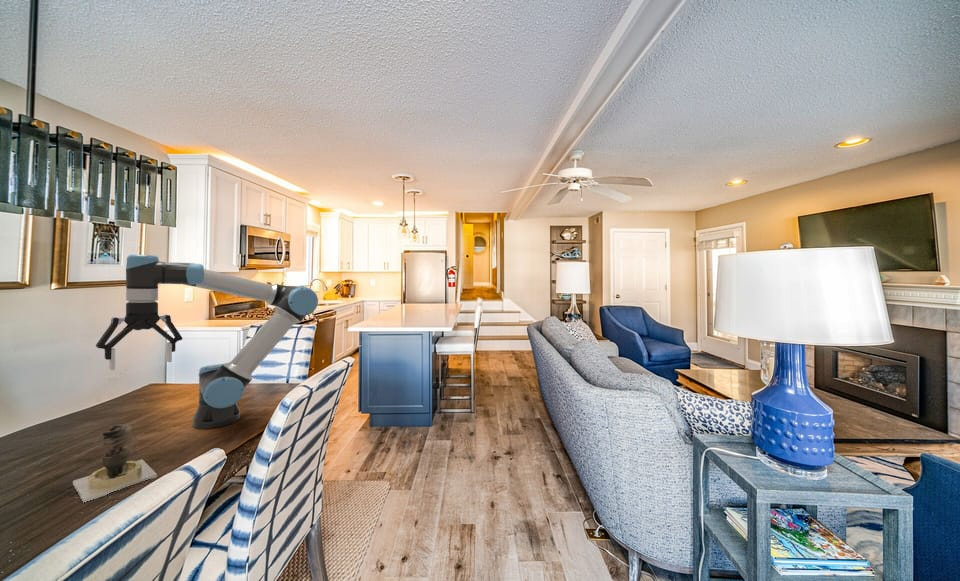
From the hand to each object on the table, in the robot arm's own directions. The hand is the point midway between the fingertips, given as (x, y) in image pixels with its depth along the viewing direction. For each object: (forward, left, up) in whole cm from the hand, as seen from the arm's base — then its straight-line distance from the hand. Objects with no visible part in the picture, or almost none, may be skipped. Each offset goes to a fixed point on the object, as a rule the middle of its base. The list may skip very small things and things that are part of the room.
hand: (142, 365), depth 112 cm
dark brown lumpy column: (+9, +17, -28) cm, 34 cm away
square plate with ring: (+9, +17, -29) cm, 35 cm away
